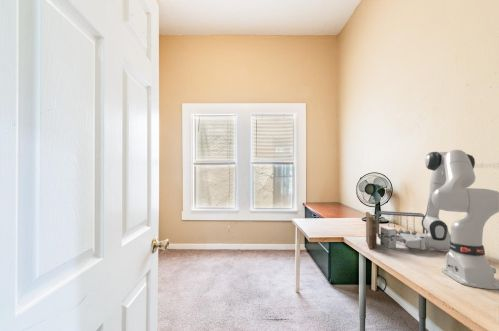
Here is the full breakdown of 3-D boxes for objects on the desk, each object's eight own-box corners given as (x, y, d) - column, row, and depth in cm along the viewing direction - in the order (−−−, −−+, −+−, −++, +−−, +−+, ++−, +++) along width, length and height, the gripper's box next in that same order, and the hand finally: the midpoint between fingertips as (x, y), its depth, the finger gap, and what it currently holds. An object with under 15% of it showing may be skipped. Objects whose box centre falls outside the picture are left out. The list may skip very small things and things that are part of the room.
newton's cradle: (424, 239, 184) (424, 213, 184) (428, 243, 174) (428, 215, 174) (376, 235, 195) (376, 210, 195) (377, 238, 185) (377, 212, 185)
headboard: (377, 249, 157) (377, 217, 158) (368, 249, 159) (368, 216, 159) (373, 241, 176) (373, 212, 177) (365, 240, 178) (365, 211, 178)
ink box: (379, 244, 168) (379, 226, 169) (386, 244, 169) (386, 225, 170) (389, 248, 160) (389, 229, 160) (396, 248, 161) (396, 228, 161)
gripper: (415, 231, 169) (391, 230, 174) (425, 239, 150) (397, 237, 154) (415, 241, 169) (391, 239, 174) (425, 251, 150) (397, 248, 154)
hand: (394, 238), depth 164 cm, fingers closed
